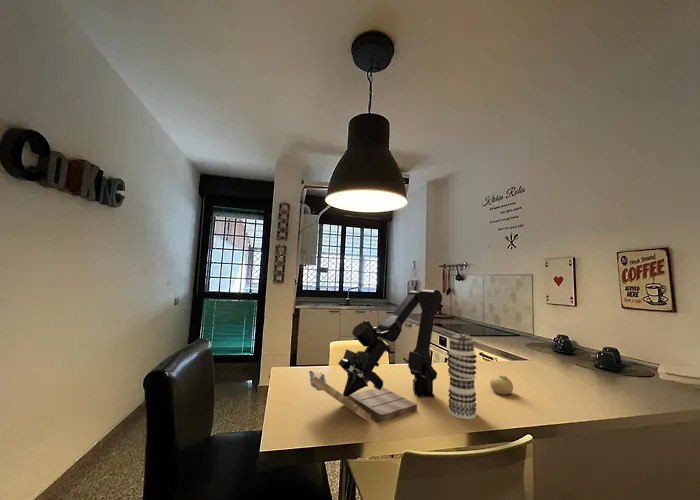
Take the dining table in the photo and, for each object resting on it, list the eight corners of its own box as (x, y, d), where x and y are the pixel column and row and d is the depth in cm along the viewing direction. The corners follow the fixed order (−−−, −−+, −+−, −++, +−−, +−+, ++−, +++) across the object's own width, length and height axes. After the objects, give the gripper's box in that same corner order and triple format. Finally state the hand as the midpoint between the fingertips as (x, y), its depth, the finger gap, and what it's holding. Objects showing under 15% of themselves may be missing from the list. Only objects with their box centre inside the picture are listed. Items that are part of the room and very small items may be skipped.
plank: (347, 398, 103) (314, 376, 97) (371, 415, 91) (336, 390, 85) (344, 404, 102) (311, 381, 96) (368, 421, 90) (332, 397, 84)
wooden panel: (382, 392, 114) (382, 385, 114) (416, 410, 99) (416, 403, 99) (346, 400, 105) (346, 393, 105) (378, 422, 90) (378, 414, 90)
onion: (487, 392, 115) (486, 373, 116) (494, 387, 121) (493, 369, 122) (509, 398, 110) (509, 379, 111) (515, 393, 116) (515, 374, 116)
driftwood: (327, 391, 115) (328, 385, 115) (310, 392, 114) (310, 386, 114) (324, 374, 135) (324, 369, 135) (309, 374, 134) (309, 369, 134)
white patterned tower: (461, 422, 92) (461, 338, 94) (441, 409, 100) (441, 333, 102) (484, 417, 95) (482, 336, 97) (462, 405, 104) (461, 331, 106)
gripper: (343, 334, 106) (314, 372, 99) (375, 346, 91) (344, 391, 84) (361, 354, 110) (335, 391, 103) (395, 368, 94) (367, 413, 88)
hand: (344, 396), depth 94 cm, fingers closed
